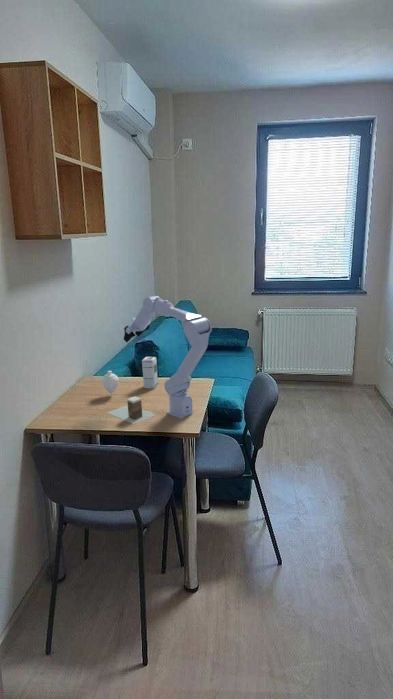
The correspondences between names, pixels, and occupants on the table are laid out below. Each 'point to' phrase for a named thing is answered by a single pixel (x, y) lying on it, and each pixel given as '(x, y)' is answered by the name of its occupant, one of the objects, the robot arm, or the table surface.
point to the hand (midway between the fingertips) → (131, 337)
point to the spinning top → (110, 382)
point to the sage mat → (123, 414)
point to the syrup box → (150, 372)
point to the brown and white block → (134, 407)
